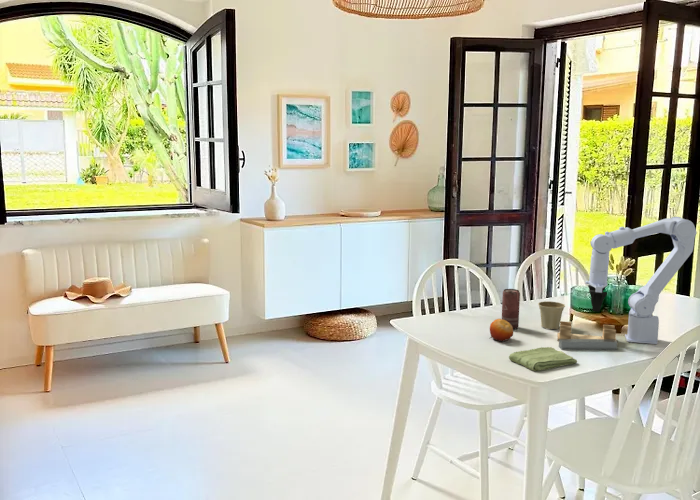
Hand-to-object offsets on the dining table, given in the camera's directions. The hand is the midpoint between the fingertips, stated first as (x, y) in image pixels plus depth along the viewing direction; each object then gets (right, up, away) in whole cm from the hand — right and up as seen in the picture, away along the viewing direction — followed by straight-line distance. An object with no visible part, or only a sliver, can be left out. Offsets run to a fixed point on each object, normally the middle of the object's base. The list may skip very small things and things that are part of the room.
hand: (595, 308), depth 224 cm
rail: (-6, -13, -10) cm, 17 cm away
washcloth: (-25, -15, -23) cm, 37 cm away
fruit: (-33, -11, 0) cm, 34 cm away
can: (-26, -8, +14) cm, 31 cm away
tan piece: (-4, -11, -1) cm, 11 cm away
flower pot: (-11, -8, +15) cm, 20 cm away
